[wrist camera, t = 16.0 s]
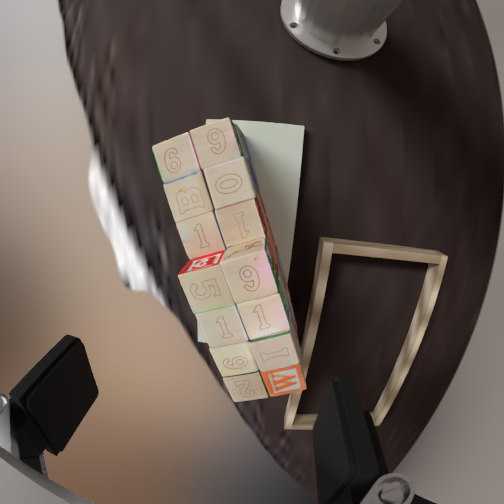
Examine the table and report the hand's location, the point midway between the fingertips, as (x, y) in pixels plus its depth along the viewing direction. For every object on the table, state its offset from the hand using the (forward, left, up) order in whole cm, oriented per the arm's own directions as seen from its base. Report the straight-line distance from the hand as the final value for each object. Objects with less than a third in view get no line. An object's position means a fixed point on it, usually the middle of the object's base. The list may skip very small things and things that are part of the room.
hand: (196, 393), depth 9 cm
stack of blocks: (0, 0, -22) cm, 22 cm away
